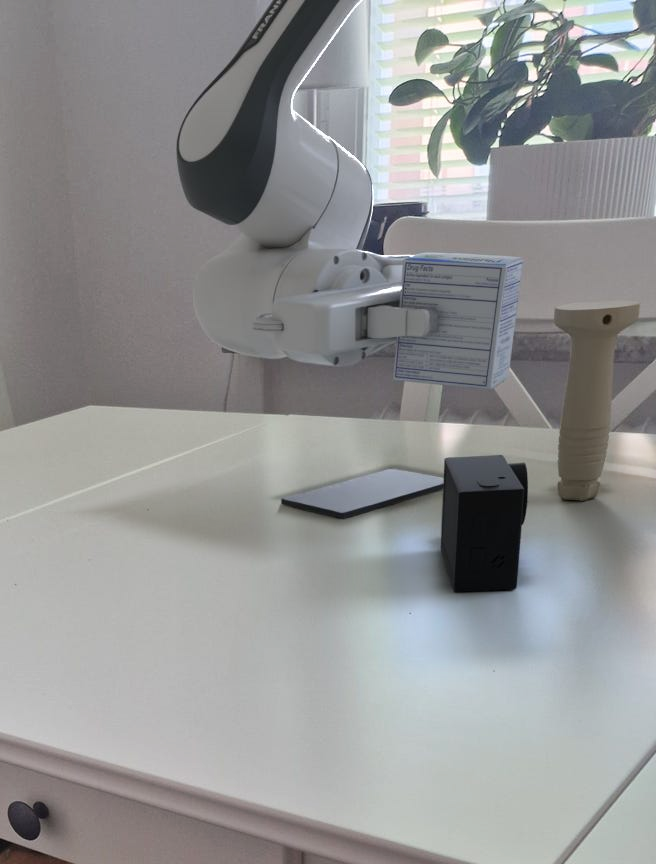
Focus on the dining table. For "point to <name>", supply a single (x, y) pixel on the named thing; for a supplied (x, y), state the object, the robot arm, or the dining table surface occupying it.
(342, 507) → the smartphone
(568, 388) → the handle
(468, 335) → the medicine box
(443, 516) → the digital camera
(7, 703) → the dining table surface
